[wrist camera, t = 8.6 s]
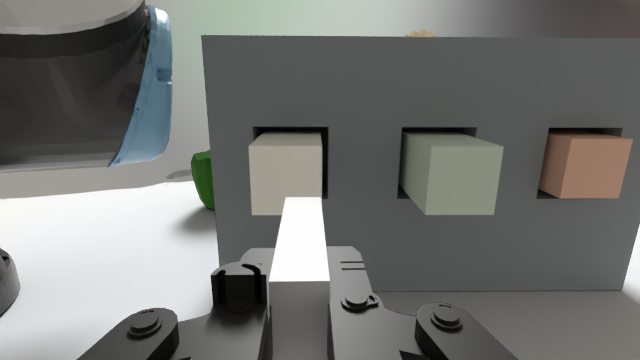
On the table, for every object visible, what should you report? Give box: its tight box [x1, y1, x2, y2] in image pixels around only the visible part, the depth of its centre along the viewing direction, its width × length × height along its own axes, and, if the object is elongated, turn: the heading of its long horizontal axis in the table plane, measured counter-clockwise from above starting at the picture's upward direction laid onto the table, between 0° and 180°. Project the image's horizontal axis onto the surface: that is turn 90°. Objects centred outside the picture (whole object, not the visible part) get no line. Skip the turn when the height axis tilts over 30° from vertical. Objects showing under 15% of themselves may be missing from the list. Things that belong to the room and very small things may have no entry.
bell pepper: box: [191, 150, 215, 210], centre depth 49 cm, size 8×8×10 cm
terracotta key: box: [538, 128, 633, 198], centre depth 28 cm, size 4×7×4 cm, turn 1°
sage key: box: [399, 132, 504, 215], centre depth 25 cm, size 4×7×4 cm, turn 1°
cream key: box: [249, 131, 322, 215], centre depth 25 cm, size 4×7×4 cm, turn 1°
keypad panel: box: [201, 35, 640, 292], centre depth 30 cm, size 34×8×20 cm, turn 91°
